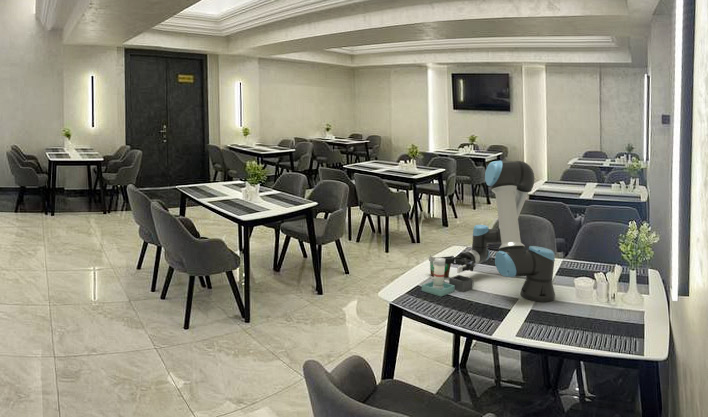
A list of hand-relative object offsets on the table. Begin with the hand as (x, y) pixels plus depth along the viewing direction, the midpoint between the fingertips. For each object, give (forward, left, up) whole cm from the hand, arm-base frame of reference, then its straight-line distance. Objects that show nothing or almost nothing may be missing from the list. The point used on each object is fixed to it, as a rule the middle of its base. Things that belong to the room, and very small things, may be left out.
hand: (445, 267), depth 277 cm
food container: (+13, -13, -11) cm, 22 cm away
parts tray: (0, +5, -11) cm, 12 cm away
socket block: (-5, -6, -11) cm, 13 cm away
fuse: (0, +5, -10) cm, 11 cm away
